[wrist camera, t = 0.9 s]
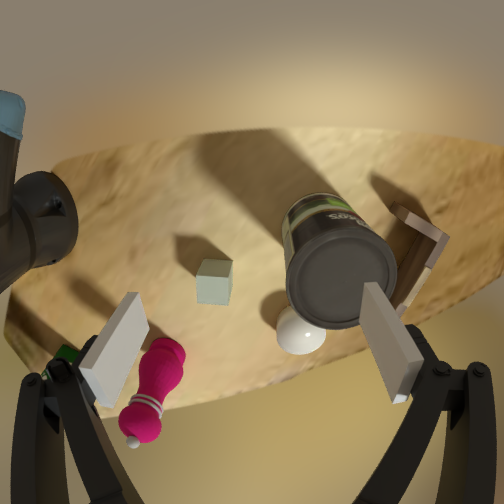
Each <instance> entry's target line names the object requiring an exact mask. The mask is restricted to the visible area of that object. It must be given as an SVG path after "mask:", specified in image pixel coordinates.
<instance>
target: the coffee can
mask: <svg viewBox="0 0 504 504" xmlns="http://www.w3.org/2000/svg"><path fill="white" fill-rule="evenodd" d="M282 239H283V246H284V256H285V267H286V293H287V297H288V300H289V303H290V305H291V306H292V308H293V310H294V311H295V312H296V313H297V315H298V316H299V317H301V318H302V319H303V320H304V321H306V322H307V323H309V324H311V325H313V326H315V327H319V328H323V329H329V330H341V329H347V328H351V327H355V326H357V325H360V323H359V318H360V311H361V304H362V297H363V290H364V283H368V282H377V283H378V285H379V286H380V288H381V289H382V291H383V292H384V294H385V295H386V297H387V299H388V300H389V299H390V297H391V295H392V293H393V291H394V288H395V285H396V281H397V264H396V260H395V256H394V254H393V252H392V250H391V248H390V247H389V245H388V244H387V243H386V242H385V241H384V240H383V239H382V238H381V237H380V236H379V235H377V234H376V233H375V232H374V231H373V230H372V229H371V228H370V227H369V226H368V225H367V224H366V223H365V222H364V220H363V219H362V218H361V217H360V216H359V215H358V214H357V213H356V212H355V211H354V210H353V209H352V208H351V206H350V205H349V204H348V203H347V202H346V201H344V200H343V199H342V198H340V197H338V196H336V195H333V194H329V193H314V194H310V195H307V196H305V197H303V198H301V199H299V200H298V201H297V202H295V203H294V204H293V205H292V206H291V207H290V209H289V210H288V212H287V213H286V215H285V217H284V220H283V223H282Z"/></svg>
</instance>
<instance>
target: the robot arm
mask: <svg viewBox="0 0 504 504" xmlns="http://www.w3.org/2000/svg"><path fill="white" fill-rule="evenodd" d="M25 109H26V108H25V102H24V100H23V99H22V98H21V97H20V96H19V95H17V94H14V93H10V92H7V91H2V90H0V294H1V293H2V292H3V291H4V290H5V289H6V288H8V287H9V286H10V285H11V284H12V283H14V282H15V281H16V280H17V279H18V278H20V277H21V276H22V275H23V274H25V273H26V272H27V271H29V270H30V269H33V268H38V267H43V266H46V265H52V264H55V263H57V262H59V261H60V260H62V259H63V258H64V257H66V256H67V255H68V254H69V253H70V252H71V251H72V249H73V247H74V245H75V243H76V240H77V235H78V216H77V211H76V207H75V204H74V201H73V198H72V196H71V194H70V192H69V191H68V189H67V187H66V186H65V185H64V183H63V182H62V181H61V180H60V179H59V178H57V177H56V176H55V175H53V174H51V173H49V172H45V171H37V172H34V173H30V174H27V175H25V176H24V177H22V178H20V179H19V180H18V181H17V182H16V183H15V184H14V182H15V172H16V165H17V158H18V153H19V147H20V141H21V140H22V137H23V135H22V128H23V121H24V115H25ZM359 323H360V325H361V328H362V330H363V332H364V334H365V337H366V339H367V342H368V344H369V346H370V349H371V351H372V353H373V356H374V358H375V361H376V363H377V366H378V368H379V371H380V373H381V376H382V378H383V381H384V383H385V386H386V388H387V391H388V393H389V396H390V399H391V401H392V404H395V403H399V402H404V401H407V399H408V397H409V395H410V393H411V395H412V397H413V401H412V403H411V405H410V407H409V409H408V411H407V414H406V415H405V418H404V420H403V422H402V424H401V425H400V427H399V429H398V431H397V433H396V435H395V437H394V439H393V440H392V442H391V444H390V446H389V447H388V449H387V451H386V453H385V454H384V456H383V458H382V459H381V461H380V463H379V464H378V466H377V467H376V469H375V471H374V472H373V474H372V475H371V477H370V478H369V480H368V481H367V483H366V484H365V486H364V487H363V489H362V490H361V492H360V493H359V495H358V496H357V497H356V499H355V500H354V501H353V503H352V504H398V503H399V501H400V500H401V498H402V496H403V494H404V493H405V491H406V489H407V487H408V485H409V483H410V481H411V480H412V478H413V476H414V474H415V472H416V470H417V468H418V466H419V464H420V461H421V459H422V457H423V455H424V453H425V451H426V448H427V446H428V444H429V442H430V439H431V436H432V434H433V432H434V429H435V427H436V424H437V422H438V419H439V416H440V414H441V411H447V427H446V440H445V449H444V457H443V464H442V471H441V477H440V483H439V488H438V493H437V498H436V503H435V504H493V503H494V494H495V481H496V460H497V459H496V458H497V449H496V448H497V447H496V446H497V439H496V417H495V404H494V394H493V386H492V378H491V372H490V369H489V368H488V367H487V365H485V364H484V363H481V362H473V363H470V365H469V366H468V368H467V370H455V369H452V367H451V366H450V365H449V364H448V363H446V362H444V361H439V360H438V358H437V356H436V355H435V353H434V351H433V350H432V348H431V347H430V345H429V343H427V340H426V339H425V338H424V336H423V334H422V332H421V331H420V329H418V328H417V327H416V326H414V325H413V324H409V325H404V324H403V323H402V321H401V319H400V318H399V316H398V314H397V313H396V311H395V310H394V308H393V306H392V305H391V303H390V302H389V300H388V299H387V297H386V295H385V294H384V292H383V291H382V289H381V288H380V286H379V285H378V283H377V282H368V283H364V290H363V297H362V304H361V311H360V318H359ZM148 331H149V325H148V322H147V319H146V315H145V312H144V308H143V305H142V301H141V298H140V294H139V292H128V293H127V294H126V296H125V297H124V298H123V300H122V301H121V303H120V304H119V306H118V307H117V308H116V310H115V311H114V313H113V314H112V316H111V317H110V319H109V320H108V322H107V323H106V325H105V326H104V328H103V329H102V331H101V332H100V334H99V335H94V336H92V337H91V338H90V339H89V340H87V342H86V343H85V345H84V346H83V348H82V349H81V351H80V353H79V354H78V355H77V357H76V358H75V360H74V362H73V363H72V365H70V363H69V361H68V359H67V358H65V357H56V358H54V359H52V360H51V361H49V362H48V364H47V365H46V371H47V373H48V375H49V376H50V378H51V379H45V380H43V379H42V377H41V376H40V374H38V373H30V374H28V375H27V376H25V377H24V379H23V380H22V383H21V388H20V393H19V398H18V404H17V410H16V417H15V425H14V433H13V444H12V457H11V504H70V503H69V496H68V488H67V478H66V468H65V451H64V429H65V432H66V436H67V439H68V442H69V445H70V448H71V451H72V454H73V457H74V460H75V463H76V466H77V468H78V471H79V473H80V476H81V478H82V481H83V484H84V486H85V488H86V491H87V493H88V495H89V497H90V500H91V502H90V503H89V504H144V502H143V501H142V499H141V497H140V496H139V494H138V493H137V491H136V489H135V487H134V486H133V484H132V482H131V480H130V479H129V477H128V475H127V473H126V471H125V469H124V467H123V466H122V464H121V462H120V460H119V458H118V456H117V454H116V452H115V450H114V448H113V446H112V444H111V441H110V440H109V437H108V435H107V433H106V431H105V428H104V426H103V424H102V421H101V419H100V417H99V414H98V412H97V409H96V407H95V406H94V402H95V400H96V399H97V401H98V402H99V404H100V405H101V406H104V407H109V408H114V406H115V403H116V401H117V399H118V397H119V394H120V392H121V390H122V387H123V385H124V383H125V381H126V378H127V376H128V374H129V372H130V370H131V367H132V365H133V363H134V361H135V359H136V357H137V354H138V352H139V350H140V348H141V346H142V344H143V342H144V340H145V337H146V335H147V333H148Z"/></svg>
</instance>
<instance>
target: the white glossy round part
mask: <svg viewBox="0 0 504 504" xmlns="http://www.w3.org/2000/svg"><path fill="white" fill-rule="evenodd" d="M276 327H277V342H278V344H279V346H280V347H281V348H282V349H283V350H285V351H286V352H289V353H292V354H307V353H310V352H312V351H314V350H316V349H317V348H319V347H320V346H321V345H322V343H323V342H324V340H325V337H326V331H325V329H323V328H319V327H315V326H313V325H311V324H309V323H307V322H306V321H304V320H303V319H302V318H301V317H299V316H298V315H297V313H296V312H295V311H294V310H293V308H292V306H291V305H290V306H288V307H286V308H285V309H283V310H282V311H281V312H280V314H279V315H278V317H277V322H276Z"/></svg>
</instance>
